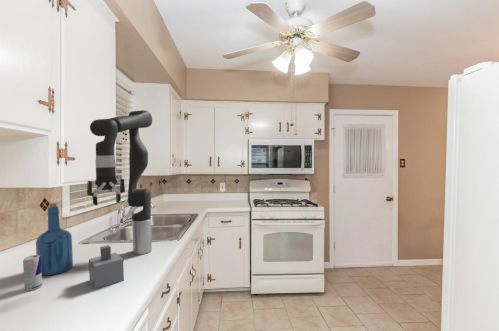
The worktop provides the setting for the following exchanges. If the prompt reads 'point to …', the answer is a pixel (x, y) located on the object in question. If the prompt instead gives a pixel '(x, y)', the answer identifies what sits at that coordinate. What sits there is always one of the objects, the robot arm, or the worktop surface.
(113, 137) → the robot arm
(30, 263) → the energy drink
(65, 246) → the wine bottle
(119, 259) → the gray block with peg
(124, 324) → the worktop surface
